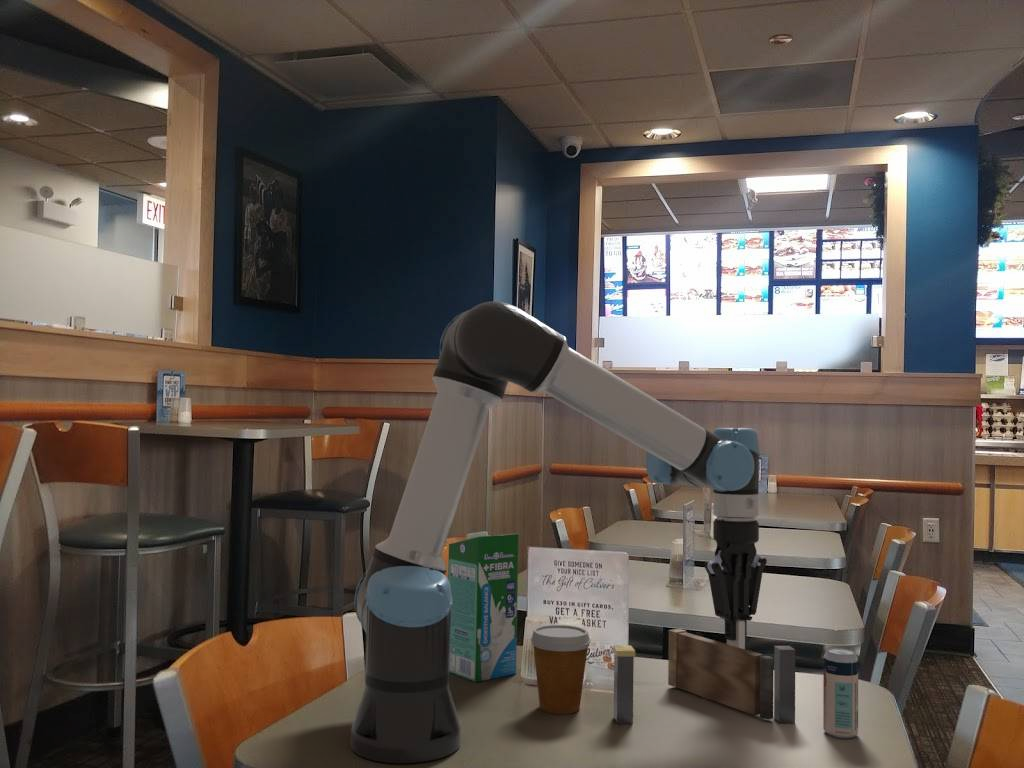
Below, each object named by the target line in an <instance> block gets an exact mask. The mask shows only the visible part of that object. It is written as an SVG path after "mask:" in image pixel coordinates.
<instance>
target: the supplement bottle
mask: <svg viewBox="0 0 1024 768" xmlns="http://www.w3.org/2000/svg"><path fill="white" fill-rule="evenodd" d="M822 681H823V682H822V683H823V685H822V686H823V687H822V688H823V690H822V691H823V697H822V698H823V699H822V700H823V702H822V704H823V714H822V715H823V716H822V717H823V719H822V723H823V725H822V727H823V728H822V729H823V731H824V732H826V733H827V735H829V736H831V737H833V738H837V739H845V740H847V739H853V738H854V737H856V736H857V735H858V734H859V658H858V656H857V654H856V652H855V651H853V650H852V649H847V648H840V647H833V648H832V647H831V648H827V649H826V651H825V653H824V655H823V680H822Z"/></svg>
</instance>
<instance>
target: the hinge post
mask: <svg viewBox="0 0 1024 768" xmlns="http://www.w3.org/2000/svg"><path fill="white" fill-rule="evenodd" d="M773 649H774V653H773V658H774V666H773V719H774V720H776V722H778V723H779V724H796V649H795V648H793V647H792V646H791V645H774V646H773Z"/></svg>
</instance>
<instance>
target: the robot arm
mask: <svg viewBox="0 0 1024 768" xmlns="http://www.w3.org/2000/svg"><path fill="white" fill-rule="evenodd" d="M439 341H440V343H439V358H438V361H437V363H436V366H435V369H434V372H433V375H432V378H431V379H432V381H433V383H434V386H435V388H436V390H437V392H436V396H435V399H434V402H433V405H432V408H431V411H430V414H429V417H428V420H427V423H426V426H425V430H424V432H423V435H422V437H421V440H420V444H419V447H418V450H417V453H416V455H415V459H414V462H413V465H412V468H411V471H410V474H409V477H408V480H407V482H406V486H405V488H404V491H403V494H402V497H401V500H400V504H399V507H398V509H397V512H396V515H395V518H394V521H393V525H392V527H391V531H390V533H389V536H388V538H386V539H385V540H382V541H381V542H380V543H377V544H375V547H374V550H373V553H372V556H371V559H370V562H369V564H368V567H367V570H366V571H365V572H364V574H363V575H362V576H361V578H360V580H359V581H358V583H357V584H356V585H357V586H356V590H355V593H354V609H355V614H356V617H357V620H358V621H359V623H360V625H361V627H362V628H363V630H364V632H365V672H364V673H365V675H364V678H365V679H364V680H365V681H364V689H363V693H362V696H361V698H360V699H361V700H360V702H359V704H358V708H357V711H356V713H355V717H354V719H353V721H352V725H351V729H350V748H351V750H352V752H353V753H355V754H356V755H358V756H360V757H362V758H364V759H367V760H371V761H373V762H375V761H376V762H379V763H387V764H388V763H389V764H414V763H415V764H416V763H425V762H431V761H435V760H439V759H441V758H445V757H447V756H450V755H452V754H454V753H455V752H456V751H458V749H460V746H461V744H462V727H461V722H460V719H459V715H458V712H457V709H456V705H455V701H454V698H453V695H452V692H451V689H450V672H449V671H450V631H451V608H452V601H453V600H452V594H451V585H450V582H449V580H448V576H446V574H447V570H448V567H447V566H448V565H447V564H446V563H445V560H444V557H443V551H444V548H445V544H446V541H447V538H448V536H449V532H450V530H451V526H452V524H453V521H454V517H455V514H456V511H457V509H458V505H459V502H460V499H461V495H462V493H463V489H464V486H465V483H466V482H467V481H466V480H467V477H468V476H469V472H470V468H471V465H472V463H473V459H474V456H475V453H476V451H477V447H478V444H479V441H480V437H481V435H482V432H483V429H484V426H485V423H486V421H487V420H486V419H487V416H488V413H489V410H490V409H491V408H493V407H495V406H496V405H498V404H500V403H502V401H503V399H504V395H505V393H506V389H507V387H508V383H512V384H514V385H517V386H519V387H521V388H523V389H525V390H527V391H528V392H530V393H532V394H535V393H538V392H541V391H542V392H543V393H545V394H547V395H548V396H550V397H552V398H554V399H555V400H557V401H559V402H561V403H563V404H564V405H566V406H567V407H569V408H571V409H573V410H574V411H576V412H578V413H580V414H581V415H584V416H585V417H587V418H589V419H590V420H592V421H594V422H595V423H597V424H599V425H601V426H603V427H604V428H606V429H607V430H609V431H611V432H613V433H614V434H616V435H618V436H619V437H621V438H623V439H625V440H627V441H628V442H630V443H632V444H633V445H635V446H637V447H639V448H641V449H642V450H643V451H646V453H645V470H646V473H647V477H648V478H649V479H650V481H651V482H652V483H654V484H657V485H658V484H661V485H663V484H664V485H669V486H670V485H686V486H693V487H699V488H700V487H701V488H705V489H711V490H712V491H713V496H712V497H713V502H712V503H713V504H712V505H713V506H712V511H713V512H712V515H714V517H716V518H714V520H713V522H712V523H713V524H712V525H713V529H712V530H713V531H712V533H713V537H712V538H713V540H714V541H715V542H716V547H715V551H714V557H713V558H712V559H711V560H710V561H708V560H706V561H704V563H703V567H704V568H705V570H706V572H707V575H708V581H709V588H710V591H711V599H712V603H713V608H714V614H715V616H716V617H719V618H720V619H723V620H724V638H725V640H726V644H728V645H732V646H735V647H739V648H742V649H745V650H746V639H747V636H748V633H747V632H748V631H747V628H748V627H747V626H748V623H747V621H749V622H751V621H752V620H753V616H755V615H756V614H757V608H758V602H759V598H760V590H761V585H762V584H761V583H762V580H763V579H762V578H763V572H764V570H765V567H766V565H767V562H768V560H767V558H766V557H761V556H759V555H758V554H757V548H756V543H759V539H760V537H759V536H760V529H759V528H760V522H759V521H758V520H756V518H758V517H759V492H760V491H759V487H760V486H759V482H760V480H759V474H760V471H759V470H760V455H761V454H760V444H759V443H760V441H759V434H758V433H757V430H755V429H754V428H750V427H716V428H715V429H714V431H713V432H711V431H710V430H708V429H705V428H704V427H702V426H701V425H699V424H698V423H696V422H694V421H693V420H691V419H689V418H688V417H686V416H684V415H683V414H681V413H679V412H677V410H674V409H672V408H671V407H669V406H668V405H665V403H663V402H662V401H659V400H657V399H656V398H655V397H653V396H651V395H649V394H647V393H646V392H644V391H643V390H641V389H639V388H637V387H636V386H634V385H633V384H631V383H630V382H628V381H626V380H625V379H623V378H621V377H619V376H618V375H617V374H614V373H613V372H611V371H610V370H608V369H607V368H604V367H603V366H602V365H600V364H599V363H596V362H594V361H593V360H591V359H589V358H588V357H586V356H584V354H583V355H582V354H581V353H580V352H577V351H576V350H574V349H573V348H572V347H570V346H569V345H568V342H567V338H566V336H564V335H563V334H561V333H559V332H558V331H556V330H555V329H553V328H551V327H550V326H549V325H547V324H546V323H544V322H542V321H540V320H539V319H538V318H536V317H534V316H532V315H531V314H529V313H527V312H526V311H524V310H522V309H521V308H519V307H517V306H515V305H513V304H509V303H507V302H502V301H498V300H497V301H486V302H485V301H484V302H482V303H479V304H477V305H475V306H474V307H472V308H471V309H468V310H466V311H463V312H462V313H460V314H458V315H456V316H455V317H454V318H452V320H451V321H449V323H448V324H447V325H446V327H445V329H444V331H442V335H441V338H440V340H439Z"/></svg>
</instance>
